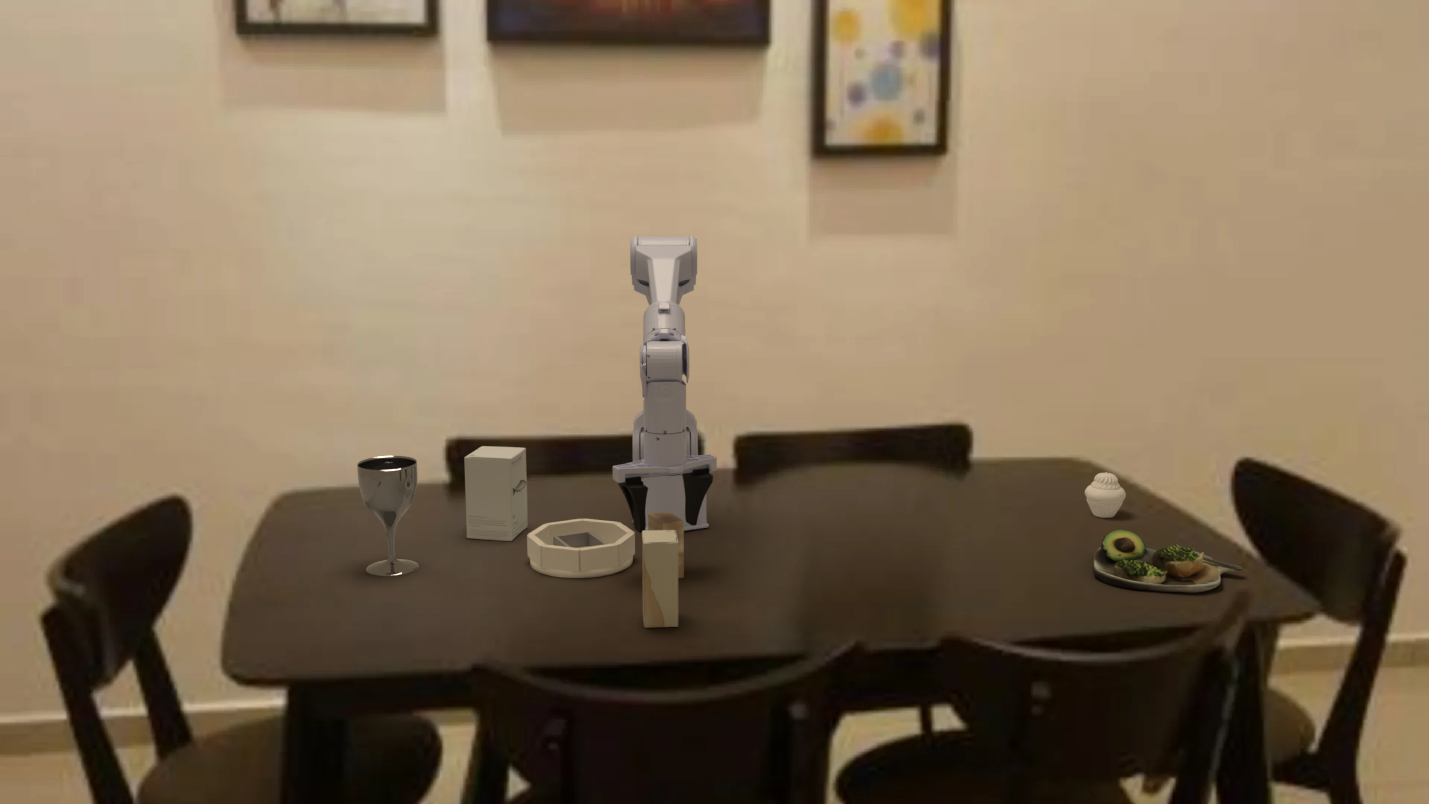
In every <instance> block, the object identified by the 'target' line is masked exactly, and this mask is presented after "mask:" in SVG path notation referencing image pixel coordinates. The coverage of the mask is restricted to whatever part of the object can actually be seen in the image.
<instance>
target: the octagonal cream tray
mask: <svg viewBox="0 0 1429 804" xmlns="http://www.w3.org/2000/svg"><path fill="white" fill-rule="evenodd" d="M635 535H636V532H635V531H633V530H632V529H630V528H629V527H628V526H627V525H624V524H623V523H622V522H619V521H613V520H601V519H592V518H576V519H575V518H574V519H568V520H567V519H566V520H561V521H560V520H559V521H555V522H553V521H552V522H546V523H543V524H542V525H540V526H537V528H535V529H534V530H532V531H530V532H528V534H527V535H526V545H527V546H526V547H527V548H526V551H527V557H528V558H529V565H530V567H531V568H532V569H533V570H534V571H536V572H537V573H539V574H542V575H546V576H551V577H557V578H563V579H588V578H597V577H603V576H605V577H606V576H610V575H613V574H617V573H619V572H622V571H624V570H626V569H628V568H630V566H631V565H632V564H633V563H634V562H633V561H634V555H635V554H636V545H635V544H636V536H635Z"/></svg>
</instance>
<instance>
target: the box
mask: <svg viewBox="0 0 1429 804" xmlns="http://www.w3.org/2000/svg"><path fill="white" fill-rule="evenodd" d="M641 539H642V540H641V541H642V542H641V544H642V546H641V549H642V550H641V551H642V553H641V554H642V556H641V557H642V559H641V561H642V562H641V563H642V565H641V566H642V573H641V574H642V621H643V627H644V628H647V629H648V628H650V629H651V628H672V627H673V628H676V627H677V628H678V627H679V578H678V539H677V534H676V531H675V530H646V531H642V533H641Z"/></svg>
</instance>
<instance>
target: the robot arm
mask: <svg viewBox="0 0 1429 804" xmlns="http://www.w3.org/2000/svg"><path fill="white" fill-rule="evenodd" d="M629 246H630V247H629V248H630V249H629V253H630V255H629V259H630V263H629V264H630V265H629V267H630V270H629V271H630V275H631V285H632V286H633V291H635V292H636V293H639V294H641V295H644V296H645V297H646V301H647V303H648V306H647V307H646V309H645V310H644V311H643V312H644V313H643V316H642V317H643V319H642V320H643V322H642V324H643V325H642V326H643V327H642V328H643V329H642V330H643V333H642V334H643V336H642V337H643V338H642V343H643V344H641V345H640V348H639V379H640V383H641V390H642V391H641V395H642V398H643V404H642V405H643V409H642V410H641V411H639V412H638V413H637V414H636V415H635V417H634V418H633V422H632V423H633V425H632V426H633V428H632V461H631V462H626V463H623V464H617V465H613V466H612V480H613V481H615V482H616V483H617V485H618V487H619V488H620V490H621V493H622V494H623V495H624V498H625V501H626V503H627V506H628V508H629V511H630V515H631V518H632V521H631V522H632V523H633V527H634V530H635V531H637V532H638V533H639V534H642V531H646V530H648V514H653V513H660V512H667V511H668V512H670V513H672V514H673V515H675V516H677V517H678V518H680V519H681V520H683V521H684V532H685V531H693V530H699V529H704V528H705V529H706V528H709V525H710V524H709V523H708V522H707V521H708V520H707V517H708V516H707V492H708V490H709V489H710V487H711V485H712V484H713V481H714V475H713V474H712V473H710V472H716V471H717V466H718V465H717V456H715V455H713V454H701V455H700V454H699V445H698V444H699V443H698V442H699V439H698V437H699V435H698V434H699V433H698V427H697V426H698V424H697V419H696V417H695V415H694V413H692V412H691V411H689V410H688V409H687V384H689V379H690V347H689V342H688V338H687V336H686V314H685V312H684V310H683V308H682V307H681V306H680V304H681V302H682V299H683V296H684V295H687V294H689V293H690V292H693V291H694V290H695V285H696V284H697V275H698V239H697V238H696V237H695V235H693V234H690V235H689V236H688V235H687V236H686V235H685V236H683V235H682V236H681V235H677V236H676V235H675V236H673V235H672V236H670V235H666V236H663V235H662V236H657V235H656V236H655V235H653V236H651V235H650V236H649V235H648V236H646V235H645V236H642V235H641V236H638V235H633V236H632V237H631V238H630V240H629ZM683 376H685V378H686V380H685V381H684V380H683ZM685 382H686V383H685Z"/></svg>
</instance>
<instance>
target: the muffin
mask: <svg viewBox="0 0 1429 804" xmlns="http://www.w3.org/2000/svg"><path fill="white" fill-rule="evenodd" d="M1084 495H1085V498H1086V499H1085V500H1086V502H1087V505H1088V506H1089V509H1090V511H1091V513H1092V515H1093V516H1094V517H1097V518H1103V519H1106V518H1107V519H1110V518H1115V516H1116V514H1117V513H1118V511H1119V509H1121V506H1122V505H1123V503H1124V500H1125V499H1126V496H1127V495H1126V491H1125V489H1124V488H1123V487H1122V486H1121V485H1120V483H1119V479H1118V477H1117V476H1116V475H1115V474H1113V473H1110V472H1107V471H1106V472H1099V473H1097V474H1096V475H1095V476H1094V478H1093V481H1092V482H1091V483H1090V484H1089V485H1088V486H1087V487H1086V488H1085V489H1084Z"/></svg>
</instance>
